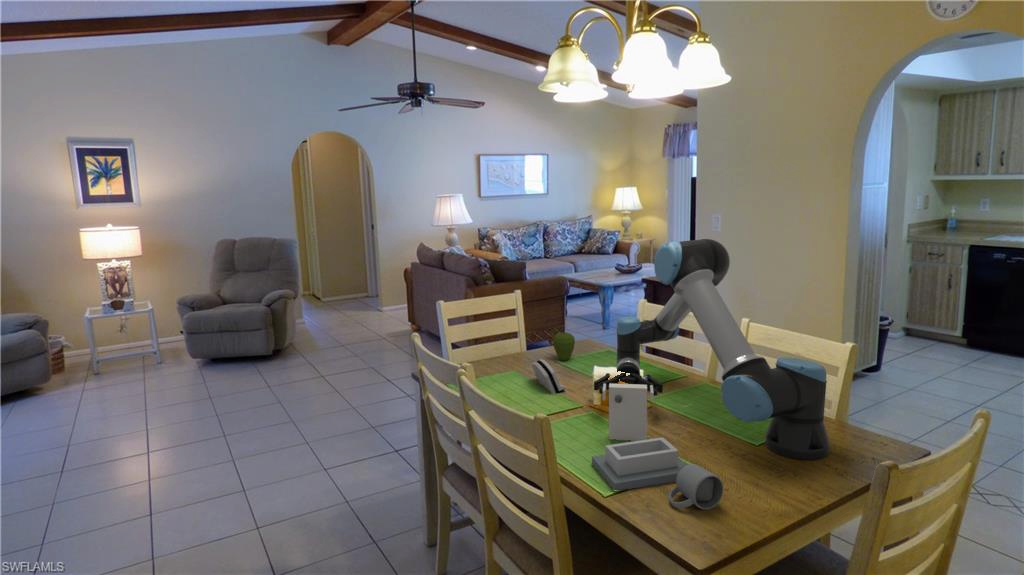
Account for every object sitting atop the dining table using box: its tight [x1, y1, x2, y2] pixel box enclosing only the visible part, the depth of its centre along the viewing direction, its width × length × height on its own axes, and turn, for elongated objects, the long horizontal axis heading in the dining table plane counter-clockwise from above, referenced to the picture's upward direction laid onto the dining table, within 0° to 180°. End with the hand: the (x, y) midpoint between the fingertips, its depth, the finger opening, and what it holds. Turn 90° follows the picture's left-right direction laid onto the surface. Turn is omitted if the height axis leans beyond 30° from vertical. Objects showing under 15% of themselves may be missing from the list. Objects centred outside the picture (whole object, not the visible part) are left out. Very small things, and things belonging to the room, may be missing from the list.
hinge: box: [531, 358, 567, 394], centre depth 207 cm, size 17×5×10 cm, turn 16°
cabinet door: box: [608, 383, 648, 442], centre depth 163 cm, size 10×4×15 cm, turn 79°
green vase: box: [552, 331, 576, 362], centre depth 235 cm, size 9×8×12 cm
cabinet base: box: [591, 436, 687, 491], centre depth 146 cm, size 20×14×6 cm
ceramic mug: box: [668, 463, 725, 511], centre depth 131 cm, size 11×8×8 cm
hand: (627, 396), depth 172 cm, fingers open, 13 cm apart
